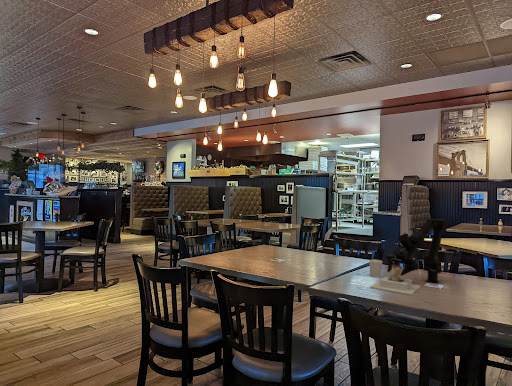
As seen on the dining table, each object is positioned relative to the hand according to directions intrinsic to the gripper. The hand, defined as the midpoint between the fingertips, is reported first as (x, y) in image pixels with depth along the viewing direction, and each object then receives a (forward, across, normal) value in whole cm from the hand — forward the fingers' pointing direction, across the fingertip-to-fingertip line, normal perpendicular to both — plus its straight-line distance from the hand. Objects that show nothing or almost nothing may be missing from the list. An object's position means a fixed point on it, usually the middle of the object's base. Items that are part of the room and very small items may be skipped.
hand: (394, 273), depth 201 cm
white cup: (-3, -25, +15) cm, 29 cm away
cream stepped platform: (+4, 0, +7) cm, 8 cm away
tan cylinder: (+4, 0, +6) cm, 8 cm away
